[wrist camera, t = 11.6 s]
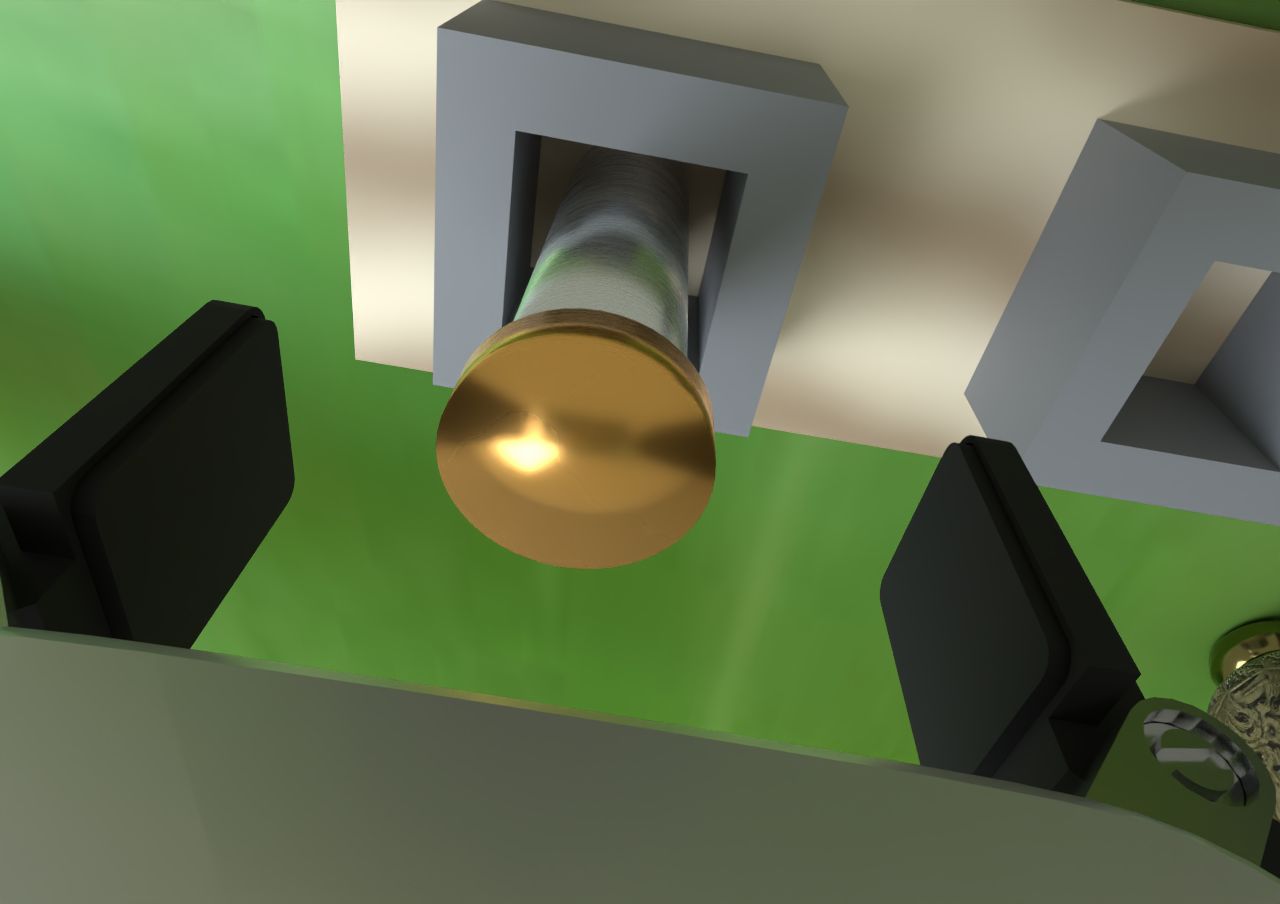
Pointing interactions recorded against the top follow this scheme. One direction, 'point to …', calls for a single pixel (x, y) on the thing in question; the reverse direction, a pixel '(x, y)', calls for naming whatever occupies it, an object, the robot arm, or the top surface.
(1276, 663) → the cup
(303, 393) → the top surface
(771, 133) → the dock socket
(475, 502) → the pin
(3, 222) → the top surface
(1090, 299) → the lock mount
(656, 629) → the top surface
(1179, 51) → the dock board
